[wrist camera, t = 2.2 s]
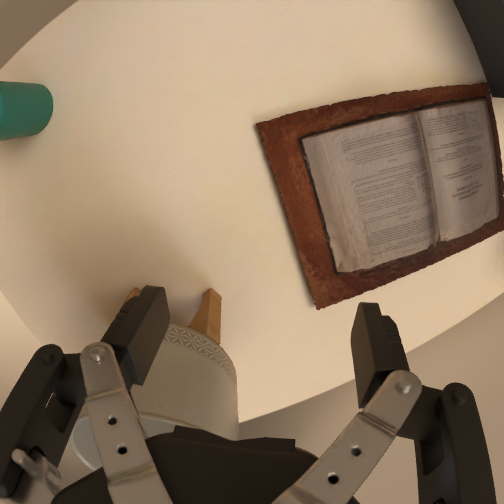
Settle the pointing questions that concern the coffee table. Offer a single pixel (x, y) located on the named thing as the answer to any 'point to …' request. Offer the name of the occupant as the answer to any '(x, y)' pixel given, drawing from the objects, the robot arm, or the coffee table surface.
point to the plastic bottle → (23, 109)
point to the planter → (180, 384)
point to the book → (387, 184)
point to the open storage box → (487, 38)
